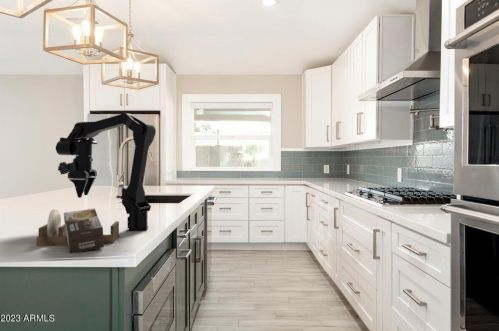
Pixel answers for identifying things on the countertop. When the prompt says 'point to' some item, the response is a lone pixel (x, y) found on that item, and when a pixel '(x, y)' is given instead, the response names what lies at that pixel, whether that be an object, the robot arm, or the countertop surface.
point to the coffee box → (83, 230)
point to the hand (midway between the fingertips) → (82, 196)
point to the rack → (57, 233)
